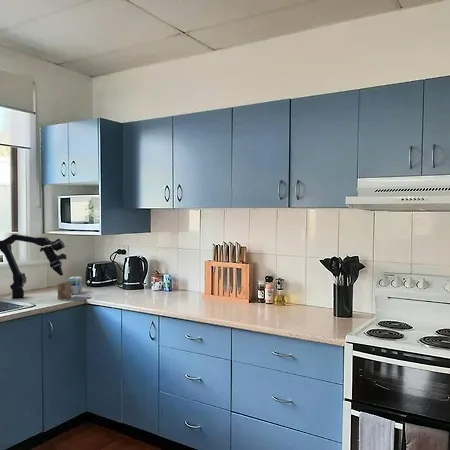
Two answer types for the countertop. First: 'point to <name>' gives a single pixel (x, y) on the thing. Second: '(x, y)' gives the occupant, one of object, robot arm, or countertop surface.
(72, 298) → the rubber mat
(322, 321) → the countertop surface
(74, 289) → the light bulb box
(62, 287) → the walnut block
